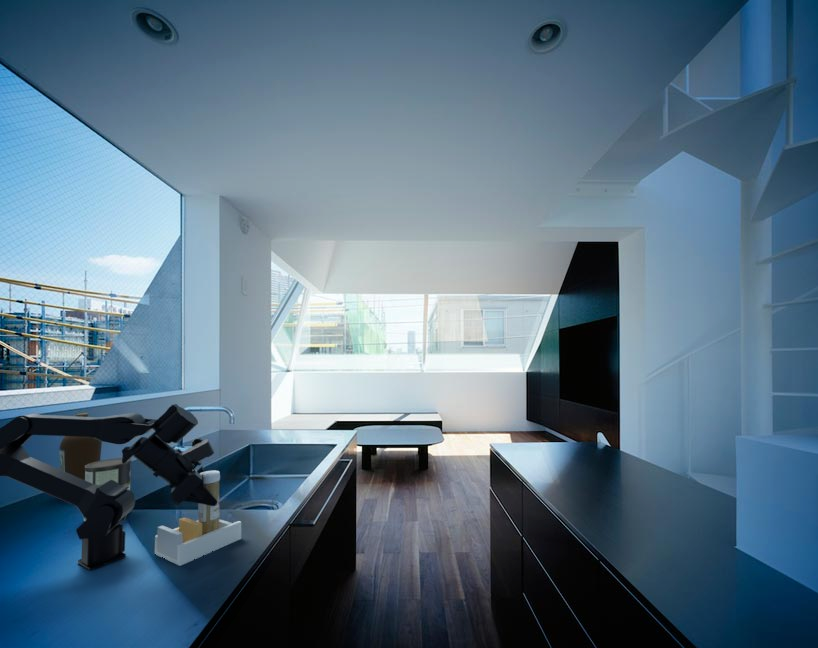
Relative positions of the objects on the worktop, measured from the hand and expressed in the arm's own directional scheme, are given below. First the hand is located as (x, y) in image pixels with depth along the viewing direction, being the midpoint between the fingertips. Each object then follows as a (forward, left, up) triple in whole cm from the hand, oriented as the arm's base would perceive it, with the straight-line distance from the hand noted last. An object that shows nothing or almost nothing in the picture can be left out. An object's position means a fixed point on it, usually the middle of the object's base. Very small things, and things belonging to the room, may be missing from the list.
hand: (215, 500), depth 94 cm
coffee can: (-6, +41, -9) cm, 42 cm away
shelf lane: (-3, +1, -9) cm, 9 cm away
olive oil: (-1, +72, -9) cm, 72 cm away
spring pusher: (-6, +1, -8) cm, 10 cm away
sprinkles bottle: (-1, +1, -7) cm, 7 cm away
